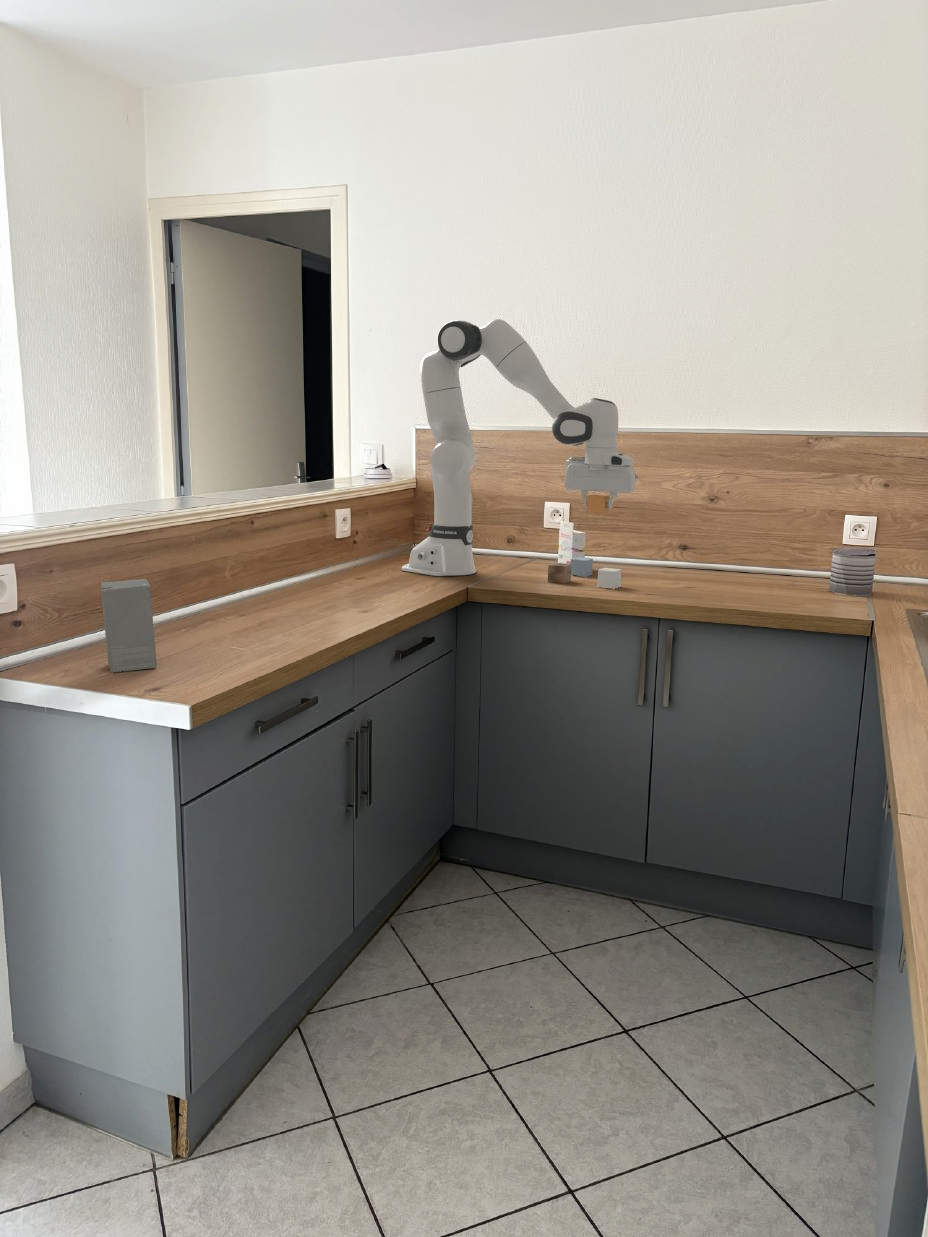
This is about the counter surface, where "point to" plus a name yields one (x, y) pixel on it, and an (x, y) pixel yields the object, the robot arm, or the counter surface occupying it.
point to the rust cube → (597, 504)
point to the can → (853, 571)
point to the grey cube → (609, 578)
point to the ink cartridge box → (570, 543)
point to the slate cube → (581, 566)
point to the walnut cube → (559, 573)
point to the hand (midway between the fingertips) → (598, 507)
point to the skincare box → (128, 625)
